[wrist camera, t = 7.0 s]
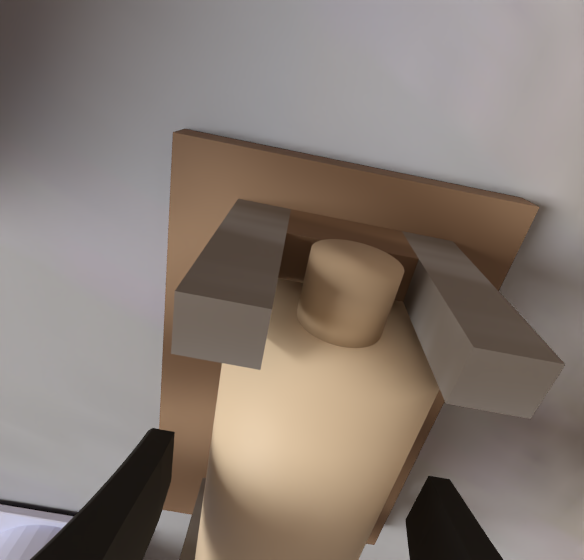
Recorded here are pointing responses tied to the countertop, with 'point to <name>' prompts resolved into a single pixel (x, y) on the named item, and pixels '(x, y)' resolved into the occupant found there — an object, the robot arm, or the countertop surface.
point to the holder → (292, 266)
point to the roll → (317, 415)
